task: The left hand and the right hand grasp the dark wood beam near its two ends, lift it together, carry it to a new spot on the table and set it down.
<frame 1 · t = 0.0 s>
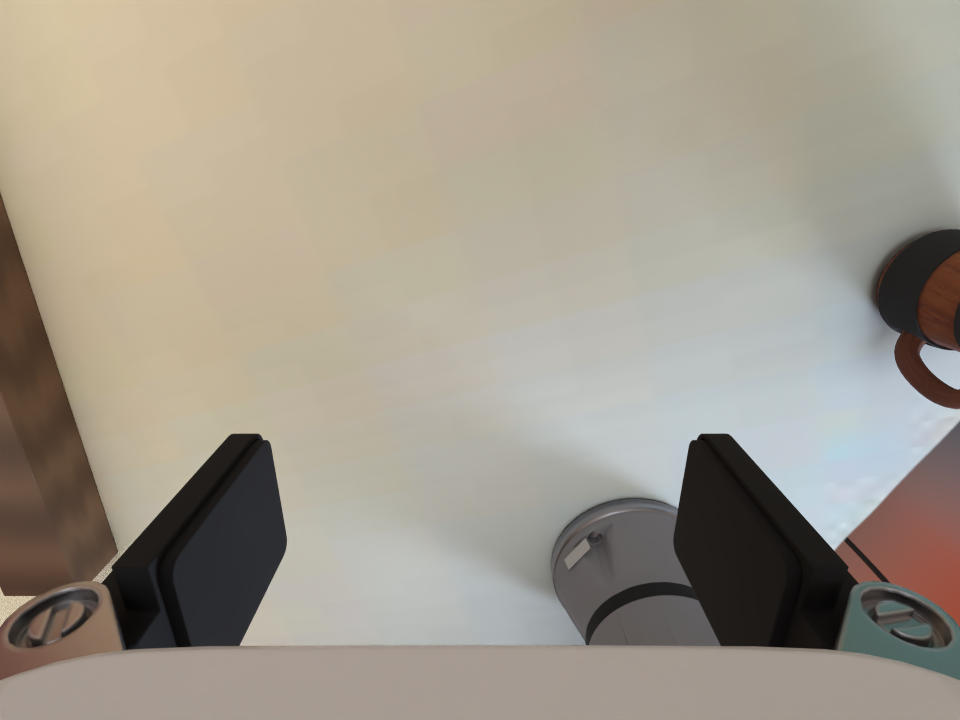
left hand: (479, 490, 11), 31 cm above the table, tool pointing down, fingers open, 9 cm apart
mug: (908, 300, 42), on the table
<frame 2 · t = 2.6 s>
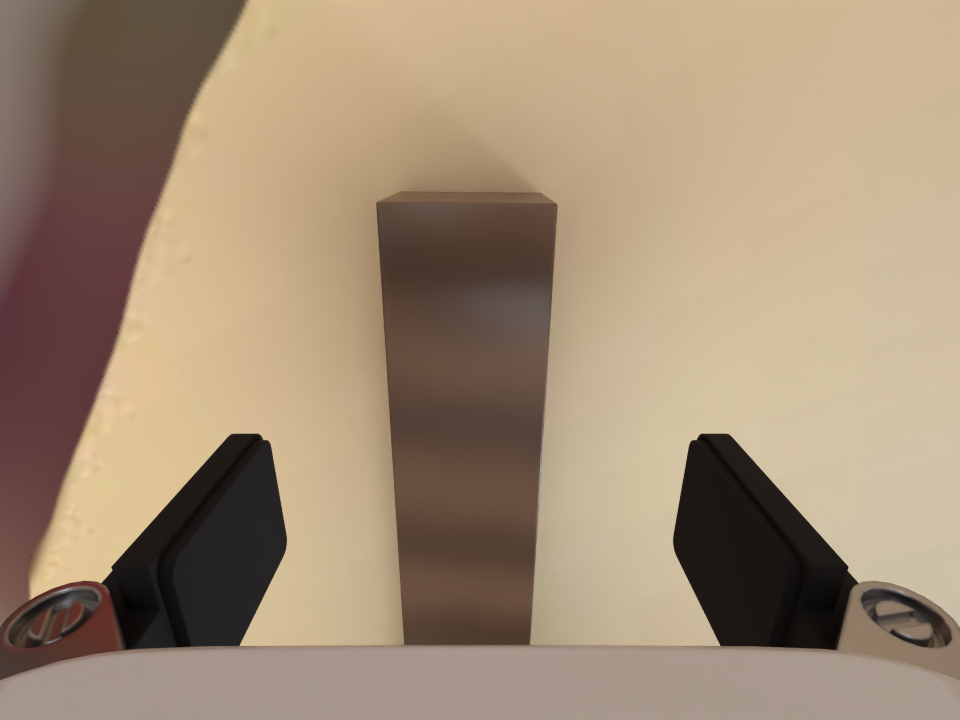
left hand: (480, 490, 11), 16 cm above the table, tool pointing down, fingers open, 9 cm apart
beam: (469, 643, 35), on the table
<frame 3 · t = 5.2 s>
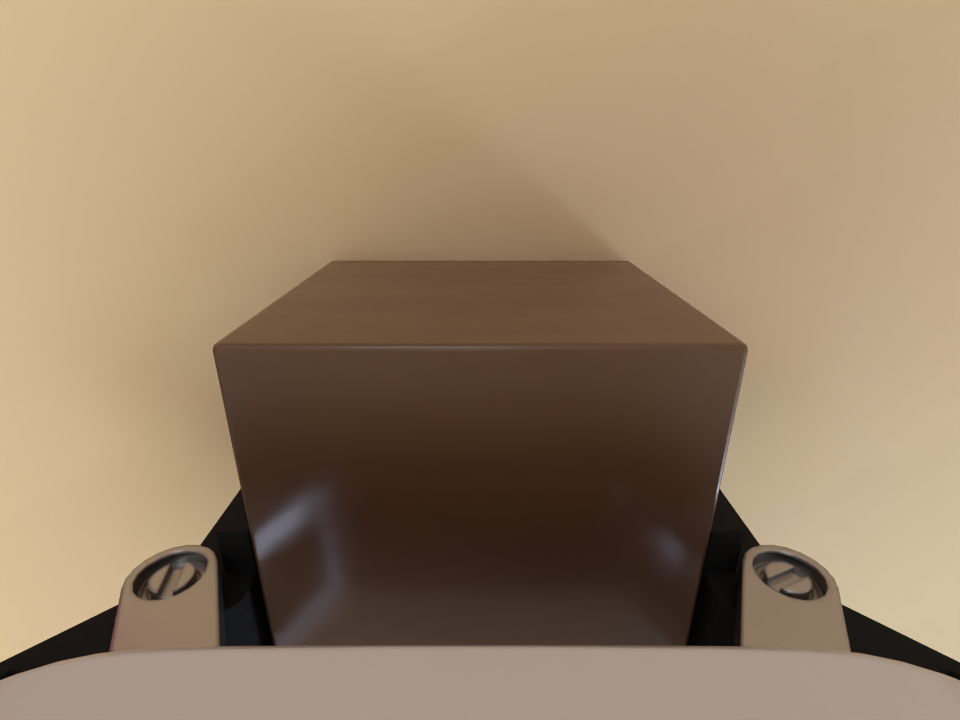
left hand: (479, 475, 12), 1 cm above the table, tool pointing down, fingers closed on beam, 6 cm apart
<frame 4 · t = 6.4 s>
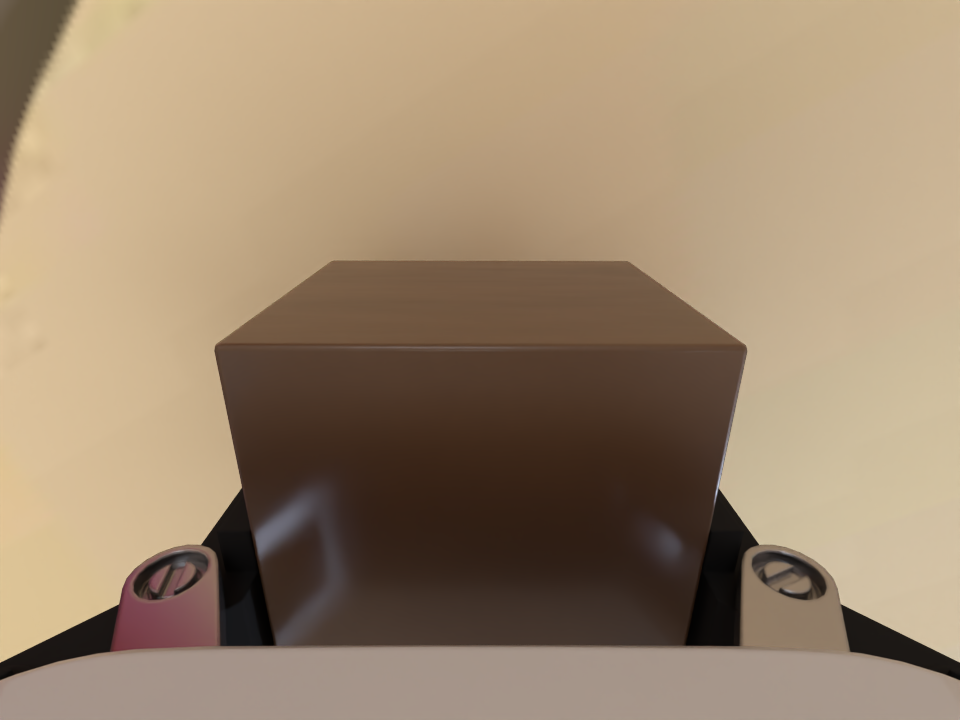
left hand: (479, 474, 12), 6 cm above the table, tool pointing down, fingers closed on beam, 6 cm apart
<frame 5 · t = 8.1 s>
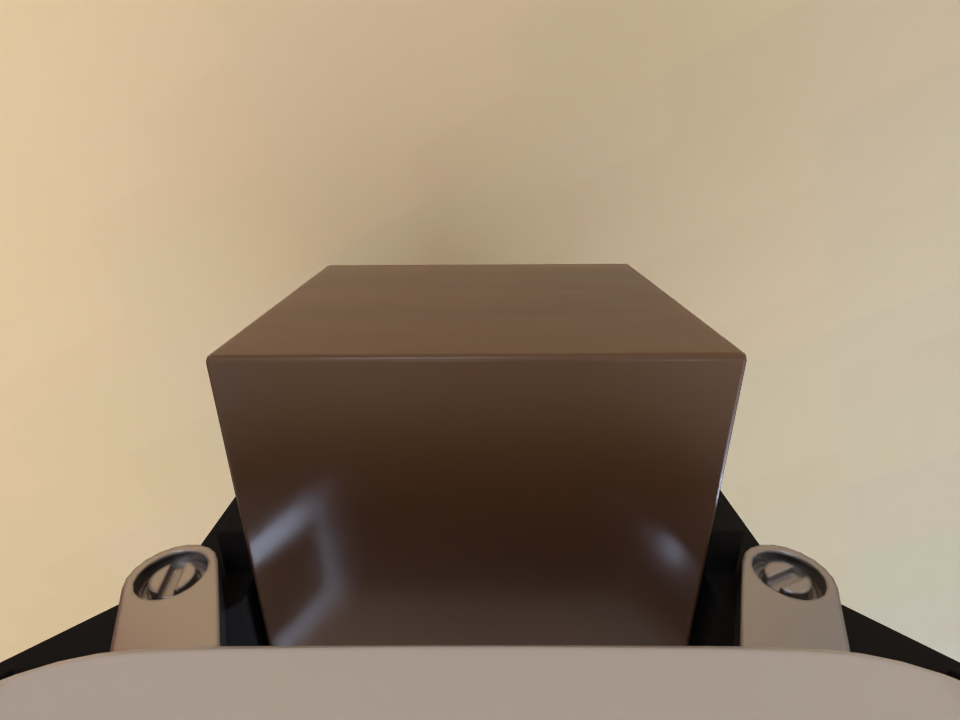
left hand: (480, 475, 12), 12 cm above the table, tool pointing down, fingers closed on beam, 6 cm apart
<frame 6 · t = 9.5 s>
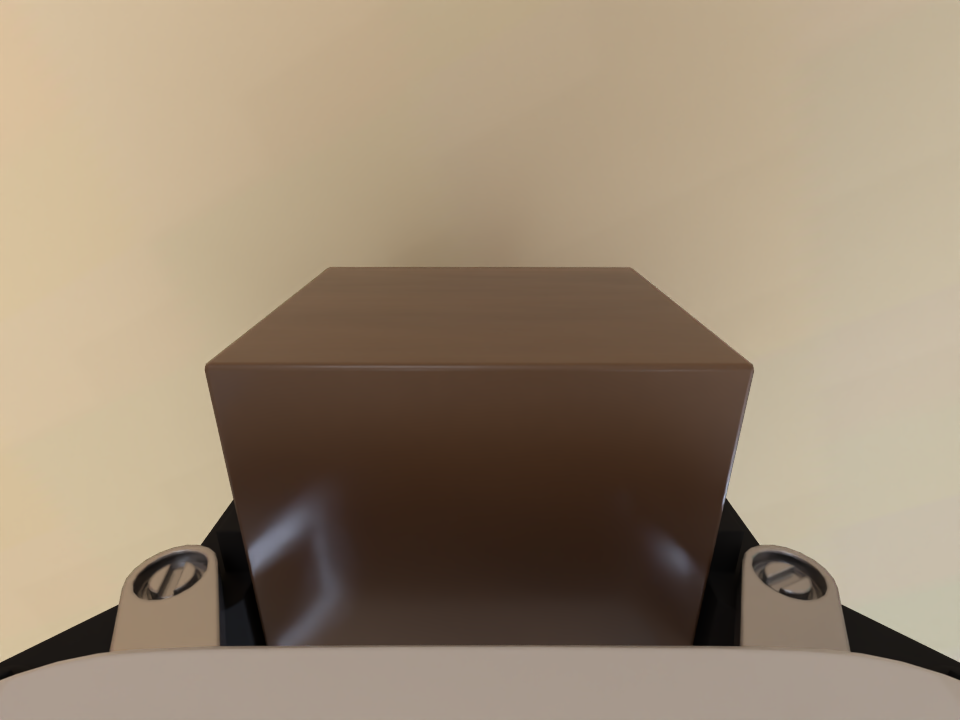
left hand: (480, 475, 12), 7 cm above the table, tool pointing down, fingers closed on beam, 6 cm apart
when the right hand's fingers open (0 cm above the table, at t = 10.7 s): beam stays where it is, on the table.
when the left hand's fingers open (2 cm above the table, at t = 10.8 s): beam stays where it is, on the table.
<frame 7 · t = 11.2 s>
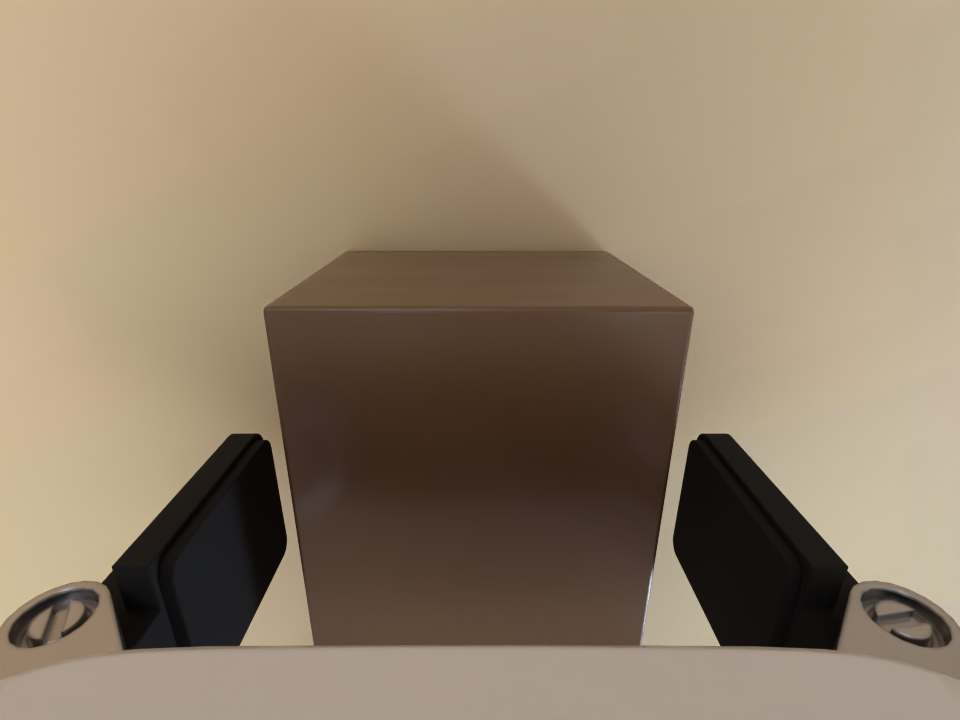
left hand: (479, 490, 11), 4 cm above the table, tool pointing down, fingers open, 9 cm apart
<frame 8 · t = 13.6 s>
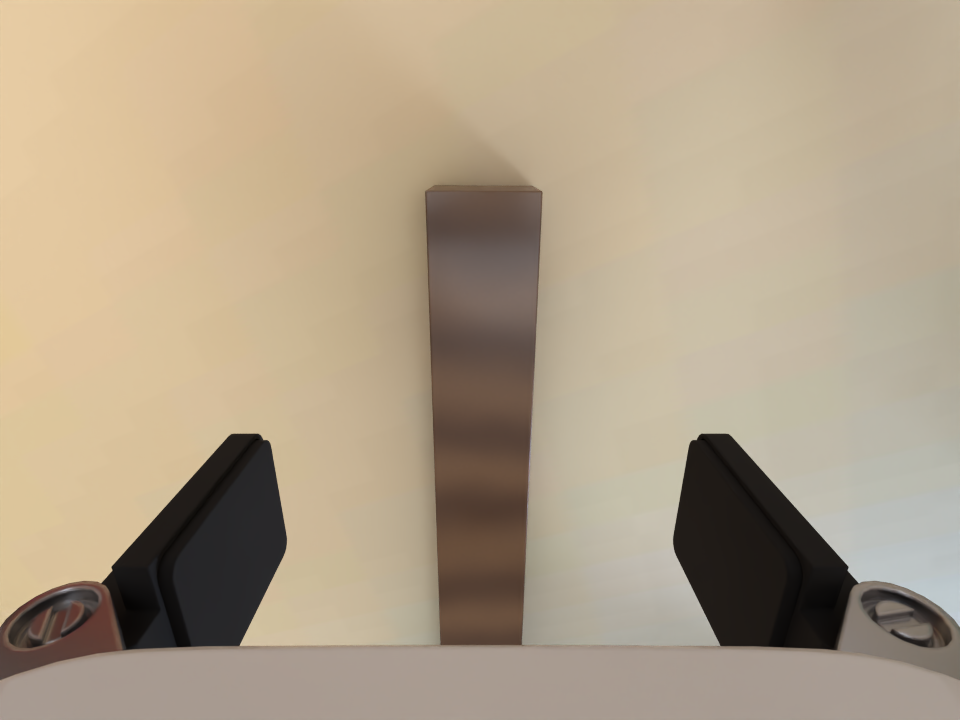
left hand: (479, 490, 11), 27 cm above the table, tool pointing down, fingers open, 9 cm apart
beam: (481, 535, 45), on the table
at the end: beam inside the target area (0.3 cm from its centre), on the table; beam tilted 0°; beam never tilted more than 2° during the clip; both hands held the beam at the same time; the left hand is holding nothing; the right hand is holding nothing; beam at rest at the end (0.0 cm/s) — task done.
